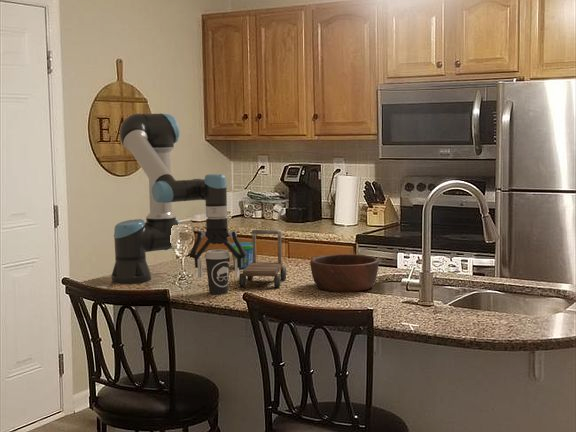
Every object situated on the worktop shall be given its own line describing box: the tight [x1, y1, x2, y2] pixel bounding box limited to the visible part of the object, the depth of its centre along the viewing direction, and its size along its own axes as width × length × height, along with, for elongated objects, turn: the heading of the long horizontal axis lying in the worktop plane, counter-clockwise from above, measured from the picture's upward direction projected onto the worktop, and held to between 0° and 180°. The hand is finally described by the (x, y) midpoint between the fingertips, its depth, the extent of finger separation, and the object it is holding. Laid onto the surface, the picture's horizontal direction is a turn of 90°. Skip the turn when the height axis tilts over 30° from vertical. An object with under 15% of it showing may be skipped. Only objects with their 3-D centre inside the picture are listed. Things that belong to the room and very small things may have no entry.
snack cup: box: [231, 241, 253, 270], centre depth 326 cm, size 16×10×10 cm
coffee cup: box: [203, 249, 232, 296], centre depth 275 cm, size 10×10×15 cm
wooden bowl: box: [309, 253, 380, 293], centre depth 282 cm, size 25×25×10 cm
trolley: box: [238, 229, 287, 288], centre depth 290 cm, size 19×14×19 cm
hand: (218, 277), depth 275 cm, fingers open, 13 cm apart
